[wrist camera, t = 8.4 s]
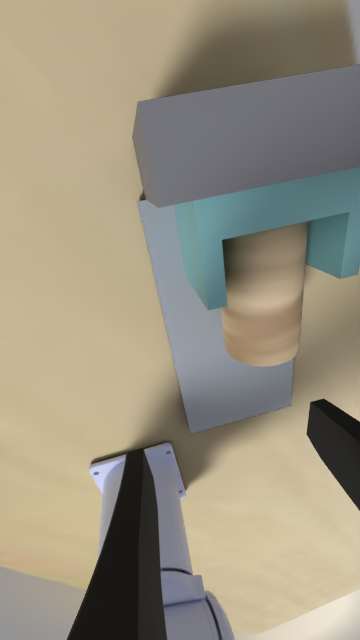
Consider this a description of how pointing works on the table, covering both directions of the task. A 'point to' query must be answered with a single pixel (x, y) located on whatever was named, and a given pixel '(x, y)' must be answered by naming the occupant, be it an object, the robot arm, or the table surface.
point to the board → (205, 340)
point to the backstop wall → (248, 135)
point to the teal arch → (268, 213)
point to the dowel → (264, 294)
